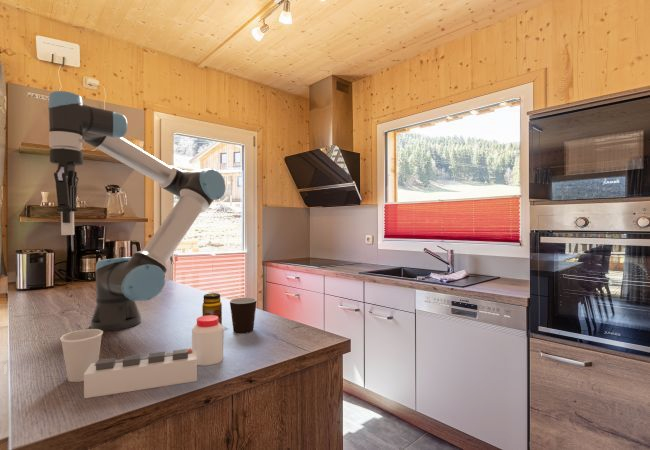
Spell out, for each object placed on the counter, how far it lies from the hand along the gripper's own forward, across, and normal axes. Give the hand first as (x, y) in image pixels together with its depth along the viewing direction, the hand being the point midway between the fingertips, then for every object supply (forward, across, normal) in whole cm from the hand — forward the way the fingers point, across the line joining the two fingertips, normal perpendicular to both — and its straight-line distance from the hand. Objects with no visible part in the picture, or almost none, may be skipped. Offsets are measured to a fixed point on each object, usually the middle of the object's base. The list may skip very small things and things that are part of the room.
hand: (67, 234), depth 100 cm
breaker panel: (+32, -30, -22) cm, 49 cm away
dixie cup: (+33, -21, -8) cm, 40 cm away
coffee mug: (+33, +1, -49) cm, 59 cm away
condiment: (+33, +4, -38) cm, 50 cm away
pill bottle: (+33, -21, -36) cm, 53 cm away
